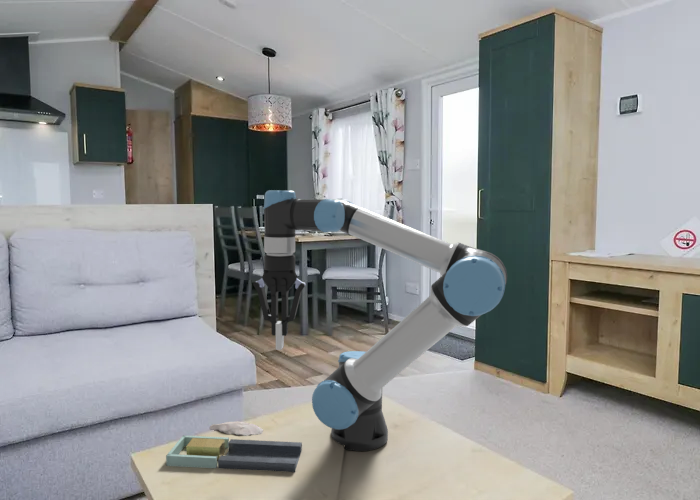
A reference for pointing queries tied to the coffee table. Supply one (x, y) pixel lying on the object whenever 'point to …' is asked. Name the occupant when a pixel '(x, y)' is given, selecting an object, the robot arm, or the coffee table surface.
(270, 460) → the slot board
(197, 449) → the chip
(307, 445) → the coffee table surface
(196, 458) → the tray
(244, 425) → the stone tool
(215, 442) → the chip
